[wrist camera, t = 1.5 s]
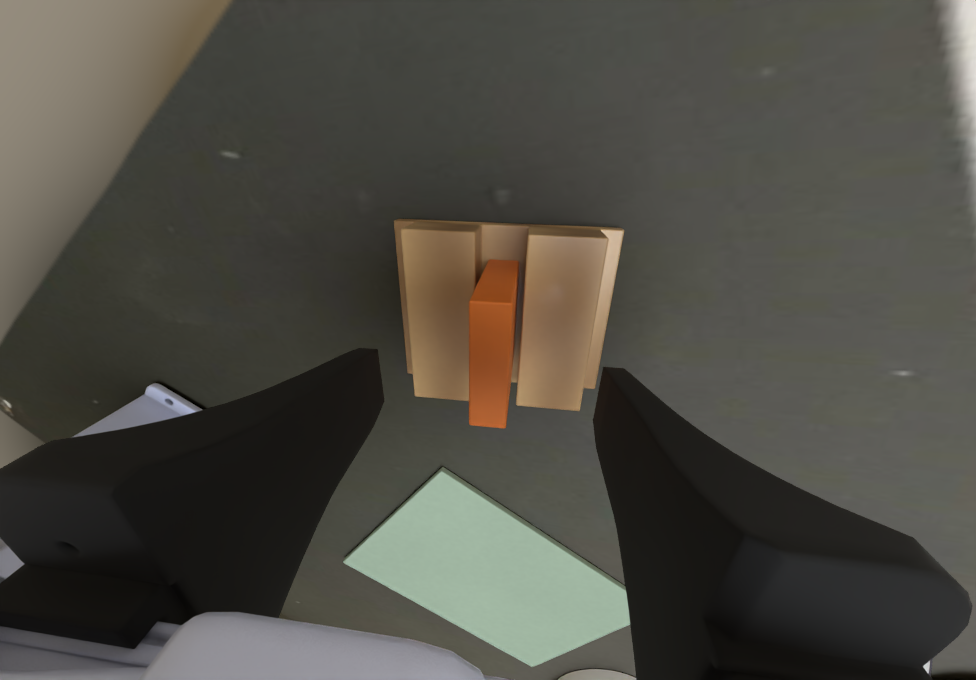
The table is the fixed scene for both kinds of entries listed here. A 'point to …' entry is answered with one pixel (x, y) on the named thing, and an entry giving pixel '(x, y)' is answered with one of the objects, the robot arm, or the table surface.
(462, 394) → the holder
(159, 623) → the robot arm
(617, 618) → the mat
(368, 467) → the table surface
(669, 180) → the table surface
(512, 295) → the block
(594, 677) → the character figurine
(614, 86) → the table surface
